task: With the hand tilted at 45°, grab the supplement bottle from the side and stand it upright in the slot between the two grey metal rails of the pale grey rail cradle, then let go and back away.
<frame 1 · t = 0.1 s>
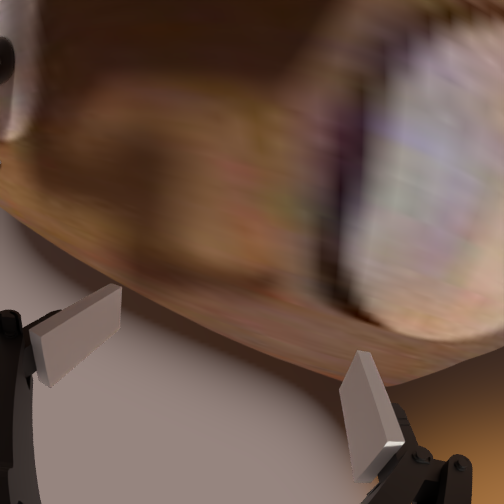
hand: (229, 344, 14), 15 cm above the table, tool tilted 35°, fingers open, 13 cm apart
supplement bottle: (3, 58, 18), on the table
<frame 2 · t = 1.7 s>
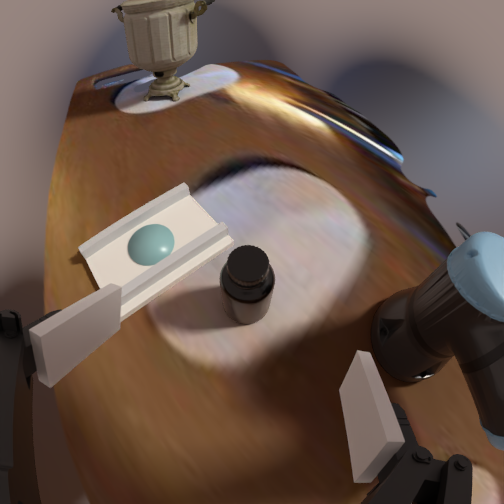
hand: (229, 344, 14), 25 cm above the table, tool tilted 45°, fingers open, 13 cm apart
samovar: (174, 89, 77), on the table
supplement bottle: (245, 303, 43), on the table
rail cradle: (152, 248, 47), on the table
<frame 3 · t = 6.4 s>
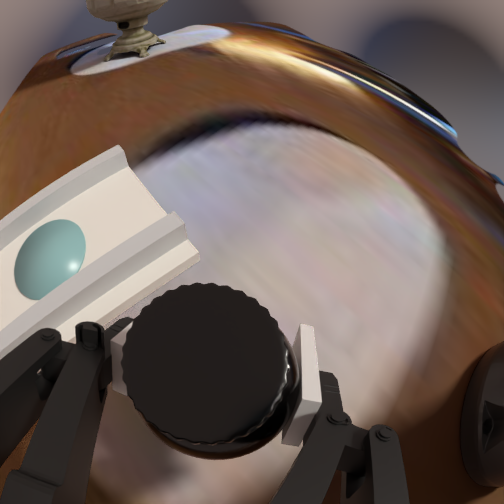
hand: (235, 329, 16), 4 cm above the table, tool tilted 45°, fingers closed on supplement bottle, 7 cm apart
samovar: (145, 47, 52), on the table
supplement bottle: (221, 393, 18), on the table, touching gripper
rail cradle: (54, 264, 21), on the table
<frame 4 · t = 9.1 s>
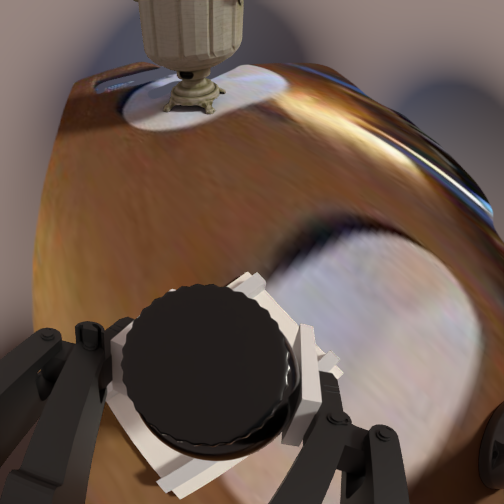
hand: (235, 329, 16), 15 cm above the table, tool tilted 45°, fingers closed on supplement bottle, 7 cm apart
samovar: (204, 96, 59), on the table
supplement bottle: (221, 394, 18), point 11 cm above the table, touching gripper
rail cradle: (215, 385, 28), on the table
when the fingers open (6 cm above the table, at t = 11.6 s): supplement bottle drops 1 cm, resting on rail cradle.
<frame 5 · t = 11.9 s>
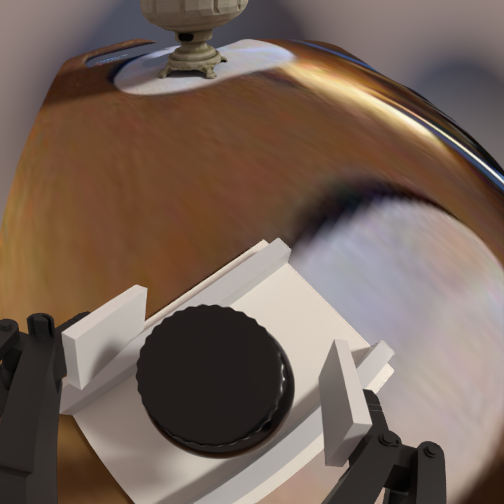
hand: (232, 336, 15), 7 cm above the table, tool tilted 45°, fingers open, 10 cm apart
samovar: (204, 64, 50), on the table
supplement bottle: (222, 396, 19), point 1 cm above the table, touching rail cradle
rail cradle: (222, 395, 20), on the table
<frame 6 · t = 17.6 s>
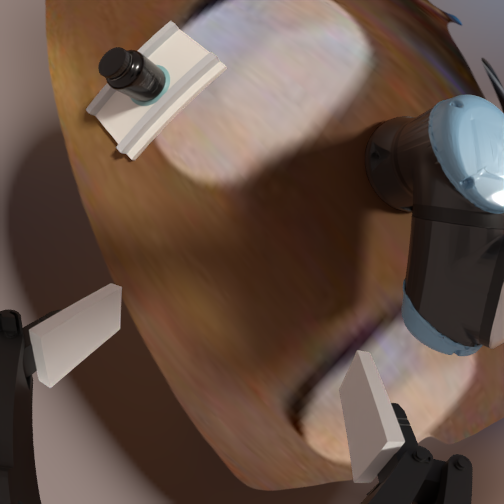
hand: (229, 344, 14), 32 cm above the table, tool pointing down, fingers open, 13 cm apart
supplement bottle: (149, 85, 41), point 1 cm above the table, touching rail cradle
rail cradle: (152, 86, 43), on the table
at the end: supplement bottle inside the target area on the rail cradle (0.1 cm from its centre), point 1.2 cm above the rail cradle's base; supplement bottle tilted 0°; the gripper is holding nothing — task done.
